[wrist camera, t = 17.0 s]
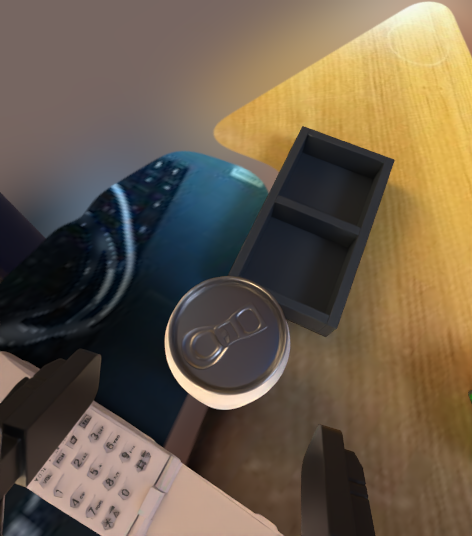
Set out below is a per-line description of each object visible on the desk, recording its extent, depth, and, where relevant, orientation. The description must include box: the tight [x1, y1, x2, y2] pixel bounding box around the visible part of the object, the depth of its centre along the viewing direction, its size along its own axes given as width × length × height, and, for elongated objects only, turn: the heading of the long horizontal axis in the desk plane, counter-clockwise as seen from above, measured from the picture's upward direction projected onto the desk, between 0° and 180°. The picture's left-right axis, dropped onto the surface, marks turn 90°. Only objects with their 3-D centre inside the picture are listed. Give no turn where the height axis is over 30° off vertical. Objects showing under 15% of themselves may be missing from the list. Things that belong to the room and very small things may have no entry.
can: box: [165, 276, 290, 410], centre depth 22 cm, size 6×6×12 cm
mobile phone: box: [0, 351, 284, 536], centre depth 22 cm, size 6×6×25 cm
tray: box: [228, 126, 394, 337], centre depth 31 cm, size 9×17×3 cm, turn 156°
